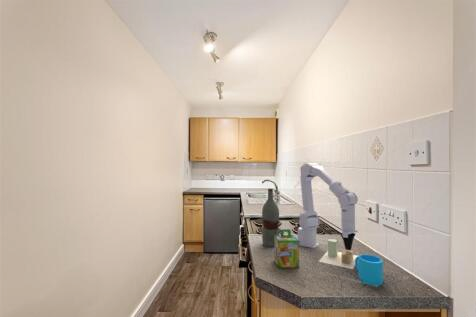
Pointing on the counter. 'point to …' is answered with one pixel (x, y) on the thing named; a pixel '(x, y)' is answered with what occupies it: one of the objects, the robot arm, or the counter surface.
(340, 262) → the mat
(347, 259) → the oak block
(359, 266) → the mug
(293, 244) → the chalk box
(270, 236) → the bottle
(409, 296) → the counter surface
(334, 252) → the sage block
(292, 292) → the counter surface
